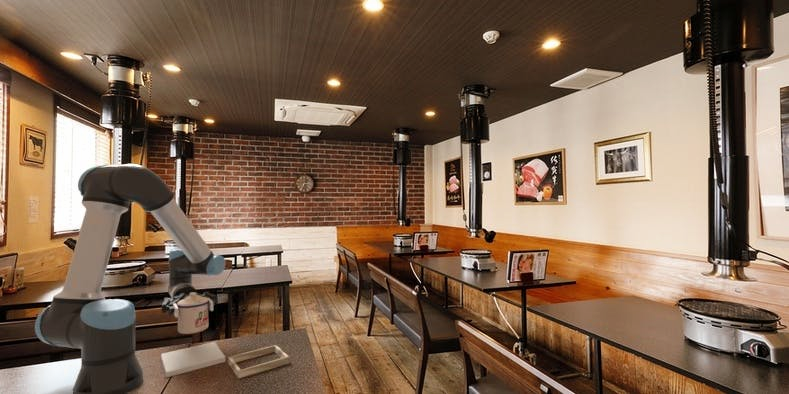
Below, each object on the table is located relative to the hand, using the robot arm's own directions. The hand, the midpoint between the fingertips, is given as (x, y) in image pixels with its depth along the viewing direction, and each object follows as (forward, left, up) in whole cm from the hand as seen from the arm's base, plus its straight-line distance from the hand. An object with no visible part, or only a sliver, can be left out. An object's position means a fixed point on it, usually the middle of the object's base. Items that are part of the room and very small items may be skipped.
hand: (195, 309), depth 112 cm
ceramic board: (-5, 0, -17) cm, 18 cm away
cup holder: (+11, +16, -17) cm, 26 cm away
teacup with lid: (-5, +1, -7) cm, 9 cm away
